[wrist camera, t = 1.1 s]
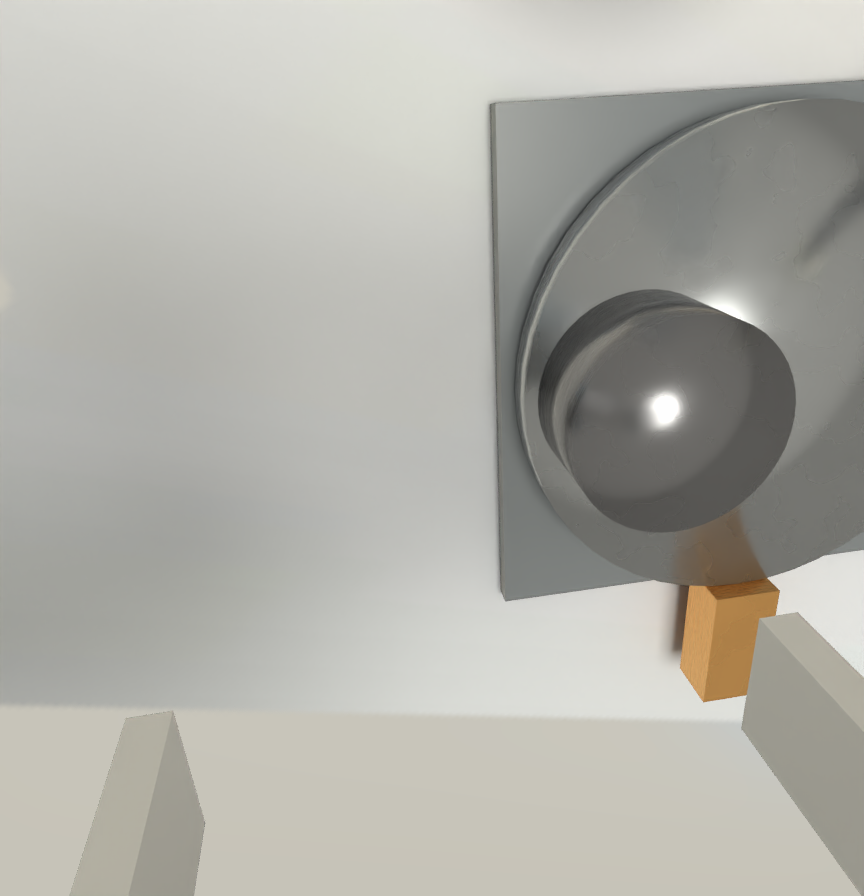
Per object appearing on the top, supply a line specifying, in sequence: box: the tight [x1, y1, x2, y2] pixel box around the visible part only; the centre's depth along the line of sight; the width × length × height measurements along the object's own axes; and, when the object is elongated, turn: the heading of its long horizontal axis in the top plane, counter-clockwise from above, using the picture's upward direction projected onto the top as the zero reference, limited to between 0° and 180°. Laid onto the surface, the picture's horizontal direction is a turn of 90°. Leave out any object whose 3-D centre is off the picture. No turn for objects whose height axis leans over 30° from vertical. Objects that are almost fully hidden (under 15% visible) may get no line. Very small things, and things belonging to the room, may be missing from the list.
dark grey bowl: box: [538, 289, 796, 533], centre depth 26 cm, size 8×8×4 cm
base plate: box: [490, 80, 864, 601], centre depth 30 cm, size 21×21×1 cm
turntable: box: [515, 99, 864, 702], centre depth 30 cm, size 20×26×2 cm
